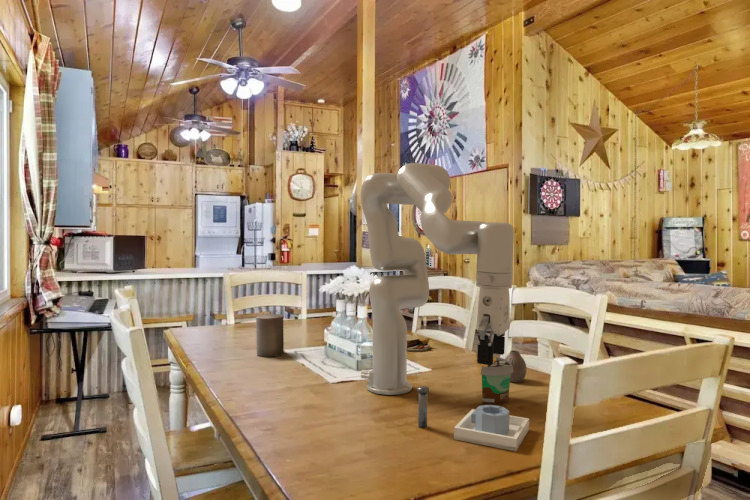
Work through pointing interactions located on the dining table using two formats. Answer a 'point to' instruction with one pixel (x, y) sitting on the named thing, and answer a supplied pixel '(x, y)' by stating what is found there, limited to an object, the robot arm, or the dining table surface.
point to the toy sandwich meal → (416, 344)
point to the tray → (508, 442)
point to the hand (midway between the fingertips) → (491, 358)
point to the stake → (422, 406)
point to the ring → (491, 419)
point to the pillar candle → (269, 335)
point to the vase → (517, 366)
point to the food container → (496, 382)
